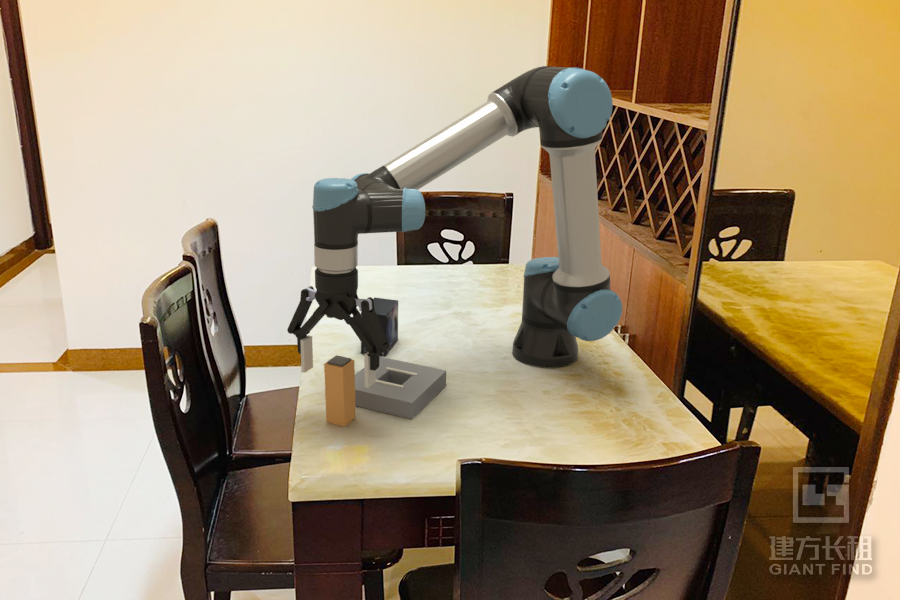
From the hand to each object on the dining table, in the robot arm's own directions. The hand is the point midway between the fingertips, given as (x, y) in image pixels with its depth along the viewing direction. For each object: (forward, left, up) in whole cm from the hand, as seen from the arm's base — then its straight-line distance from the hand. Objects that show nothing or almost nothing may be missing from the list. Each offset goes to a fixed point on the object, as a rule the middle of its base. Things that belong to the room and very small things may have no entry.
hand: (338, 377), depth 135 cm
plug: (0, 0, -9) cm, 9 cm away
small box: (+10, -34, -9) cm, 37 cm away
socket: (-4, -14, -9) cm, 17 cm away
